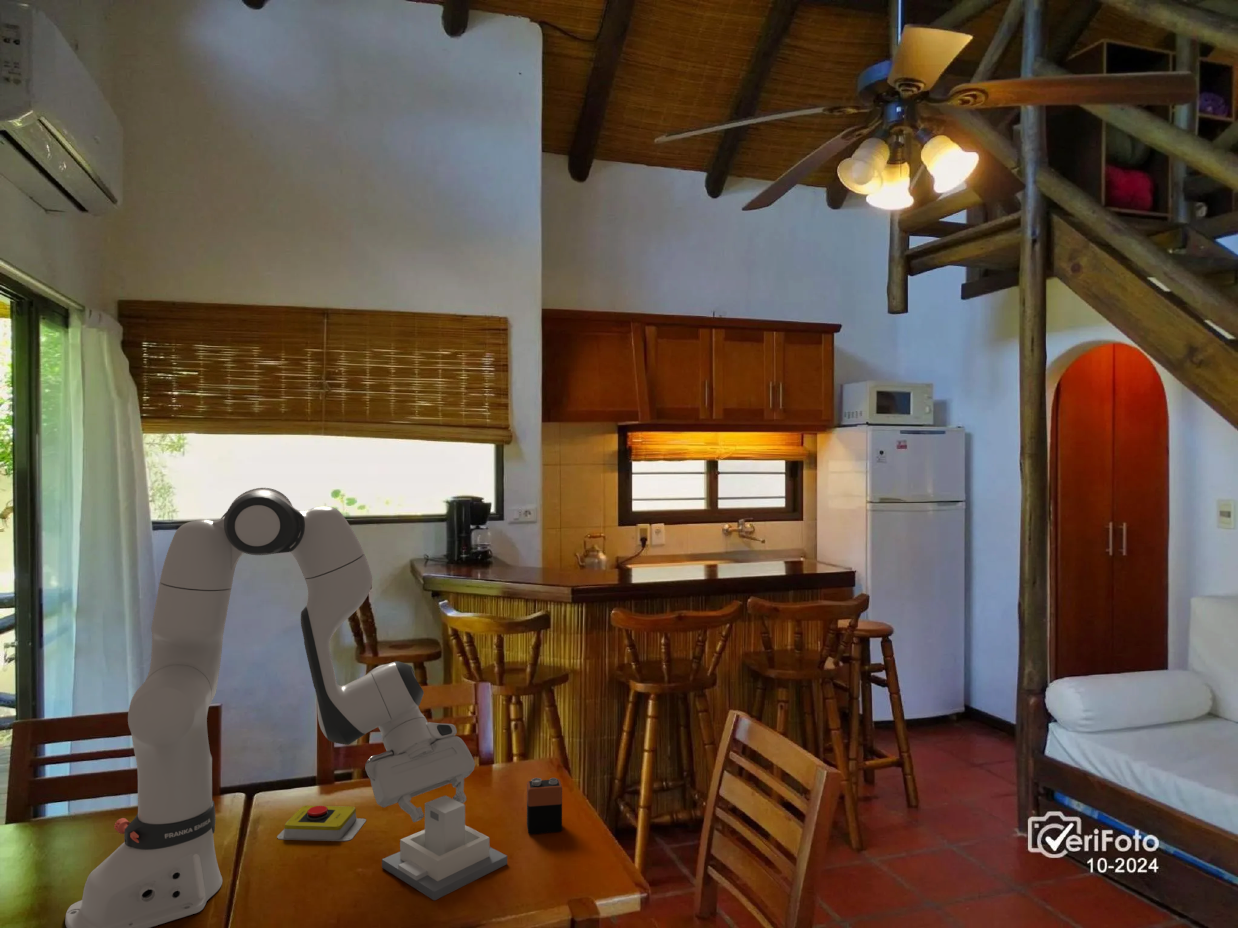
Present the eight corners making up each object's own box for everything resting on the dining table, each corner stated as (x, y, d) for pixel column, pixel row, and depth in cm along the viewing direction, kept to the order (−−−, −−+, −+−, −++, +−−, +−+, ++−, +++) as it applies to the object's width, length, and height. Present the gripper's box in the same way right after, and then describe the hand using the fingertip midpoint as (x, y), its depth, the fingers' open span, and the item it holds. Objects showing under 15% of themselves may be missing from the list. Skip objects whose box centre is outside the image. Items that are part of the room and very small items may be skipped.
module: (444, 863, 140) (444, 813, 140) (424, 851, 144) (424, 803, 144) (465, 853, 143) (465, 804, 143) (445, 842, 147) (445, 795, 147)
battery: (526, 824, 160) (526, 775, 159) (559, 822, 161) (560, 773, 161) (528, 835, 155) (528, 784, 155) (562, 832, 157) (562, 782, 156)
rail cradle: (434, 900, 132) (434, 870, 132) (381, 867, 143) (382, 839, 143) (507, 863, 144) (507, 836, 144) (453, 835, 155) (454, 810, 155)
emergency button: (296, 798, 162) (367, 800, 162) (296, 819, 162) (367, 821, 162) (274, 819, 153) (350, 821, 152) (274, 841, 153) (350, 843, 152)
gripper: (368, 750, 141) (398, 821, 135) (461, 722, 156) (491, 785, 150) (355, 768, 144) (383, 838, 138) (447, 739, 159) (476, 801, 153)
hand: (441, 810), depth 144 cm, fingers open, 8 cm apart
